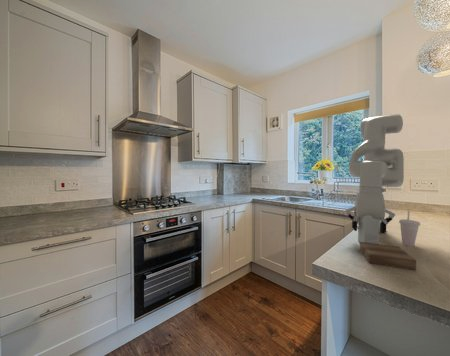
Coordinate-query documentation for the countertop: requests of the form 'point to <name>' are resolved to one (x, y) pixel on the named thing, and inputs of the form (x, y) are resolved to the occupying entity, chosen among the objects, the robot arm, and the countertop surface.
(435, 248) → the countertop surface
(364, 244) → the podium
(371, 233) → the skincare box
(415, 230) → the smoothie
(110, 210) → the countertop surface
